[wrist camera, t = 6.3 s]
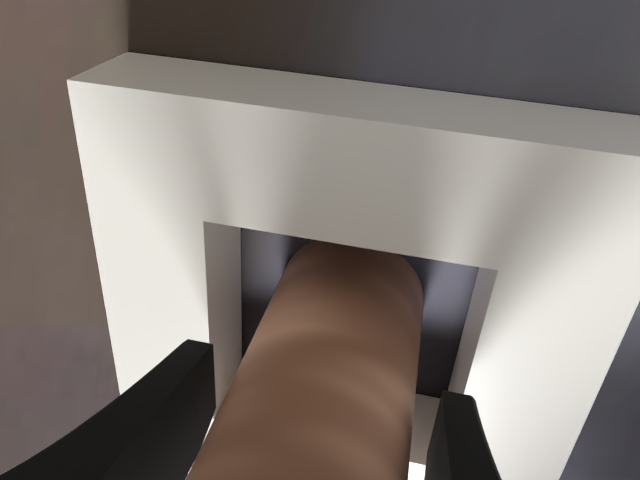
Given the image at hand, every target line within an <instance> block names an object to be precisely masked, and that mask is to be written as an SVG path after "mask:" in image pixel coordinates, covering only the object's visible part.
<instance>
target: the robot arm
mask: <svg viewBox="0 0 640 480" xmlns="http://www.w3.org/2000/svg"><path fill="white" fill-rule="evenodd" d="M215 409H216V393H215V371H214V350H213V344H210V343H205V342H200V341H195V340H190V339H187V340H186V341H184V342H183V343H182V344H180V345H179V346H178V347H177V348H176V349H175V350H174V351H172V352H171V353H170V354H169V355H168V356H167V357H165V358H164V359H163V360H162V361H161V362H160V363H159V364H157V365H156V366H155V367H154V368H153V369H151V370H150V371H149V372H148V373H147V374H146V375H144V376H143V377H142V378H141V379H140V380H138V381H137V382H136V383H135V384H133V385H132V386H131V387H130V388H128V389H127V390H126V391H125V392H123V393H122V394H121V395H120V396H118V397H117V398H116V399H115V400H113V401H112V402H111V403H110V404H108V405H107V406H106V407H104V408H103V409H102V410H100V411H99V412H98V413H96V414H95V415H93V416H92V417H91V418H89V419H88V420H87V421H85V422H84V423H83V424H81V425H80V426H78V427H77V428H76V429H74V430H73V431H71V432H70V433H68V434H67V435H65V436H64V437H63V438H61V439H60V440H58V441H56V442H55V443H53V444H52V445H50V446H49V447H47V448H46V449H44V450H42V451H41V452H39V453H38V454H36V455H35V456H33V457H31V458H30V459H28V460H26V461H25V462H23V463H21V464H19V465H18V466H16V467H14V468H13V469H11V470H9V471H7V472H6V473H4V474H2V475H0V480H185V478H186V477H187V475H188V473H189V471H190V469H191V467H192V465H193V463H194V461H195V459H196V457H197V455H198V453H199V451H200V448H201V446H202V444H203V441H204V439H205V436H206V434H207V431H208V428H209V426H210V423H211V420H212V417H213V415H214V412H215ZM424 480H502V479H501V476H500V474H499V471H498V469H497V466H496V464H495V461H494V458H493V456H492V453H491V450H490V447H489V444H488V441H487V439H486V436H485V432H484V429H483V426H482V423H481V419H480V416H479V412H478V408H477V404H476V400H475V399H474V398H473V397H472V396H471V395H466V394H461V393H456V392H451V391H446V390H442V394H441V398H440V402H439V406H438V410H437V414H436V418H435V422H434V426H433V431H432V435H431V439H430V443H429V447H428V451H427V457H426V467H425V477H424Z"/></svg>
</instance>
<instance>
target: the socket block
mask: <svg viewBox="0 0 640 480" xmlns="http://www.w3.org/2000/svg"><path fill="white" fill-rule="evenodd" d="M67 85H68V91H69V97H70V103H71V108H72V114H73V120H74V126H75V132H76V138H77V144H78V150H79V155H80V161H81V167H82V173H83V179H84V185H85V191H86V197H87V202H88V208H89V214H90V220H91V226H92V232H93V238H94V244H95V249H96V255H97V261H98V267H99V273H100V279H101V285H102V290H103V296H104V302H105V308H106V314H107V320H108V326H109V332H110V337H111V343H112V349H113V355H114V361H115V367H116V373H117V379H118V384H119V390H120V395H121V394H122V393H123V392H125V391H126V390H127V389H128V388H130V387H131V386H132V385H133V384H135V383H136V382H137V381H138V380H140V379H141V378H142V377H143V376H144V375H146V374H147V373H148V372H149V371H150V370H151V369H153V368H154V367H155V366H156V365H157V364H159V363H160V362H161V361H162V360H163V359H164V358H165V357H167V356H168V355H169V354H170V353H171V352H172V351H174V350H175V349H176V348H177V347H178V346H179V345H180V344H182V343H183V342H184V341H186V340H187V339H190V340H195V341H200V342H205V343H210V344H213V350H214V371H215V393H216V409H215V412H214V415H213V417H212V420H211V423H210V426H209V428H208V431H209V429H210V427H211V425H212V423H213V421H214V419H215V417H216V415H217V412H218V410H219V408H220V406H221V404H222V402H223V400H224V398H225V395H226V393H227V391H228V389H229V387H230V385H231V383H232V381H233V379H234V376H235V374H236V372H237V370H238V368H239V366H240V364H241V362H242V359H243V358H242V308H241V228H247V229H253V230H259V231H265V232H271V233H277V234H283V235H289V236H295V237H301V238H307V239H313V240H319V241H325V242H331V243H337V244H343V245H349V246H355V247H361V248H367V249H373V250H379V251H385V252H391V253H397V254H403V255H409V256H415V257H421V258H427V259H432V260H438V261H444V262H450V263H456V264H462V265H468V266H474V267H479V270H478V273H477V277H476V281H475V285H474V289H473V293H472V297H471V301H470V305H469V309H468V313H467V317H466V321H465V325H464V328H463V332H462V336H461V340H460V344H459V348H458V352H457V356H456V360H455V364H454V368H453V372H452V376H451V380H450V383H449V387H448V391H451V392H456V393H461V394H466V395H471V396H472V397H473V398H474V399H475V400H476V404H477V408H478V412H479V416H480V419H481V423H482V426H483V429H484V432H485V436H486V439H487V441H488V444H489V447H490V450H491V453H492V456H493V458H494V461H495V464H496V466H497V469H498V471H499V474H500V476H501V479H502V480H559V478H560V476H561V474H562V472H563V470H564V467H565V465H566V463H567V461H568V458H569V456H570V454H571V452H572V450H573V447H574V445H575V443H576V441H577V438H578V436H579V434H580V432H581V430H582V427H583V425H584V423H585V421H586V419H587V416H588V414H589V412H590V410H591V407H592V405H593V403H594V401H595V399H596V396H597V394H598V392H599V390H600V387H601V385H602V383H603V381H604V379H605V376H606V374H607V372H608V370H609V367H610V365H611V363H612V361H613V359H614V356H615V354H616V352H617V350H618V347H619V345H620V343H621V341H622V339H623V336H624V334H625V332H626V330H627V327H628V325H629V323H630V321H631V319H632V316H633V314H634V312H635V310H636V308H637V305H638V303H639V301H640V116H639V115H631V114H623V113H615V112H607V111H599V110H591V109H583V108H575V107H567V106H559V105H551V104H543V103H535V102H526V101H518V100H510V99H502V98H494V97H486V96H478V95H470V94H462V93H454V92H446V91H438V90H430V89H422V88H414V87H406V86H398V85H390V84H381V83H373V82H365V81H357V80H349V79H341V78H333V77H325V76H317V75H309V74H301V73H293V72H285V71H277V70H269V69H261V68H253V67H245V66H237V65H228V64H220V63H212V62H204V61H196V60H188V59H180V58H172V57H164V56H156V55H148V54H140V53H132V52H126V53H124V54H122V55H119V56H117V57H115V58H113V59H111V60H109V61H107V62H104V63H102V64H100V65H98V66H96V67H94V68H91V69H89V70H87V71H85V72H83V73H81V74H78V75H76V76H74V77H72V78H70V79H68V80H67ZM439 402H440V398H436V397H431V396H426V395H421V394H415V406H414V417H413V428H412V439H411V450H410V462H409V473H408V480H424V477H425V467H426V457H427V451H428V447H429V443H430V439H431V435H432V431H433V426H434V422H435V418H436V414H437V410H438V406H439ZM208 431H207V434H208ZM207 434H206V436H207ZM206 436H205V438H206ZM204 440H205V439H204ZM203 442H204V441H203ZM190 470H191V469H190ZM189 472H190V471H189ZM188 474H189V473H188Z"/></svg>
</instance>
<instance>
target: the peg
mask: <svg viewBox="0 0 640 480" xmlns="http://www.w3.org/2000/svg"><path fill="white" fill-rule="evenodd" d="M423 305H424V294H423V289H422V285H421V282H420V279H419V277H418V275H417V273H416V271H415V270H414V268H413V267H412V266H411V264H410V263H409V262H408V261H407V260H406V259H405V258H404V257H403V256H402V255H401V254H397V253H391V252H385V251H379V250H373V249H367V248H361V247H355V246H349V245H343V244H337V243H331V242H325V241H319V240H313V241H311V242H309V243H308V244H306V245H304V246H303V247H302V248H300V249H299V250H298V251H297V252H296V253H295V254H294V255H293V257H292V258H291V259H290V261H289V262H288V264H287V266H286V268H285V270H284V273H283V275H282V277H281V279H280V281H279V283H278V285H277V287H276V290H275V292H274V294H273V296H272V298H271V300H270V302H269V304H268V306H267V309H266V311H265V313H264V315H263V317H262V319H261V321H260V323H259V326H258V328H257V330H256V332H255V334H254V336H253V338H252V340H251V342H250V345H249V347H248V349H247V351H246V353H245V355H244V357H243V359H242V362H241V364H240V366H239V368H238V370H237V372H236V374H235V376H234V379H233V381H232V383H231V385H230V387H229V389H228V391H227V393H226V395H225V398H224V400H223V402H222V404H221V406H220V408H219V410H218V412H217V415H216V417H215V419H214V421H213V423H212V425H211V427H210V429H209V431H208V434H207V436H206V438H205V440H204V442H203V444H202V446H201V448H200V451H199V453H198V455H197V457H196V459H195V461H194V463H193V465H192V467H191V470H190V472H189V474H188V476H187V478H186V480H408V473H409V462H410V450H411V439H412V428H413V417H414V406H415V394H416V383H417V372H418V361H419V349H420V338H421V327H422V316H423Z"/></svg>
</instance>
